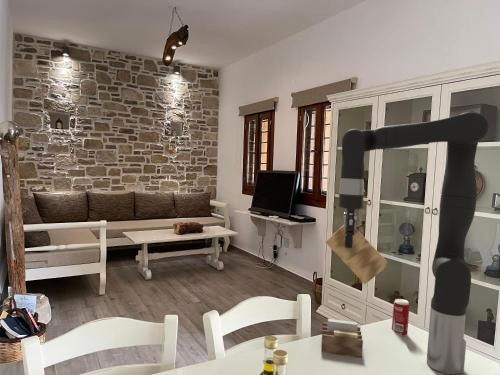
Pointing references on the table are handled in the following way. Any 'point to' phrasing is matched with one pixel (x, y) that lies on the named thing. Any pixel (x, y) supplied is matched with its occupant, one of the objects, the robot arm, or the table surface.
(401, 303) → the soda can
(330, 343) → the rack
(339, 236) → the tall sheet
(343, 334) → the offcut pine
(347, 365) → the table surface
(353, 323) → the offcut grey
